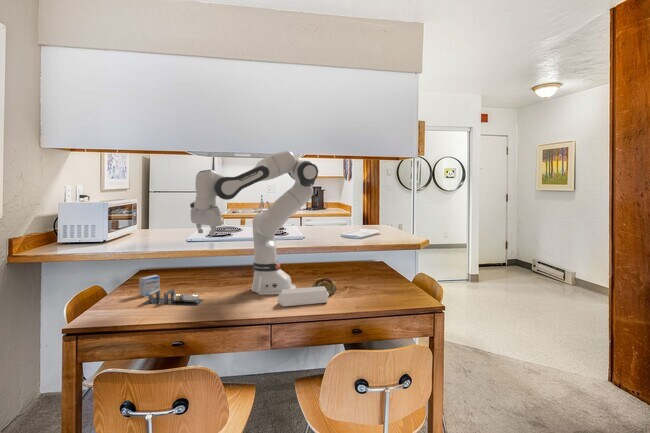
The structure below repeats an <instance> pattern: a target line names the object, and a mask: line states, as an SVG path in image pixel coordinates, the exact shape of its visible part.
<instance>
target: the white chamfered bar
mask: <svg viewBox="0 0 650 433" xmlns="http://www.w3.org/2000/svg"><path fill="white" fill-rule="evenodd" d="M277 295H278V296H277V298H276V299H277V303H278V304H279V305H280V306H281V307H292V306H302V305H313V304H323V303H327V302H328V299H329V296H330V295H329V293H328V291H327V290H326V288H325V286H321V287H312V286H311V287H296V288H295V289H282V290H281V292H280V294H277Z"/></svg>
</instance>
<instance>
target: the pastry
mask: <svg viewBox="0 0 650 433" xmlns="http://www.w3.org/2000/svg"><path fill="white" fill-rule="evenodd" d="M321 286H325V288H326V290H327V291H328V293H329V296H331V295H333V294H334V293H335V292H336V291H337V289H338V288H337V284H336V282H335V281H334V280H332V279H330V278H327V277H320V278H317V279H315V280H314V281H313V283H312V285H311V287H321Z"/></svg>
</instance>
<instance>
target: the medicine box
mask: <svg viewBox="0 0 650 433" xmlns="http://www.w3.org/2000/svg"><path fill="white" fill-rule="evenodd" d="M160 278H161V277H160V275H157V274H153V275H147V276H143V277H139V278H138V282H139V283H138V285H139V296H140V297H149V293H150V292H152V291H153V290H155V289H157V288H160V289H161V283H160V282H161V280H160ZM153 295H156V292H155V293H154V294H153Z"/></svg>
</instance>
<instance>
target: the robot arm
mask: <svg viewBox="0 0 650 433" xmlns="http://www.w3.org/2000/svg"><path fill="white" fill-rule="evenodd" d="M285 174H288V175H289V177H290V178H291V179H292V180H294V184H293V185H292V186H291V187H290V188H289V189H288V190H286V191H285V192H284V193H283V194H282V195H281V196H279V197H278V198H277V199H276V200H275V201H274V202H273V203H272V205H271V206H269V208H267V210H266V211H261V212H257V213H256V214H255V215H254V216H253V219H252V235H253V236H252V238H253V248H254V249H253V257H254V258H253V263H252V264H253V266H252V272H253V280H252V285H251V288H250V290H251V292H253V293H255V294H256V293H257V295H260V296H261V295H262V296H264V295H268V296H269V295H279V294H280V292H281V290H282V289H295V288H297V286H296V285H295V284H294V283H293V284H292V278H291V275H289V274H287V273H286V272H285V270H282V269H281V262H279V261H277V245H276V244H277V243H276V237H275V236H276V235H275V234H277V233H278V232H279V230H280V229H282V227H283V226H284V225H285V224H286V222H287V221H288V220H290V218H291V217H292V216H293V215H294V214H296V213H297V212H298V211H299V210H300V209H301V208H302V207H304V205H305V204H307V202H308V201H309V200H310V199H311V198H312V196H313V195H314V188H313V186H314V184H315V181H316V180H317V178H318V176H319V175H318V174H319V168H318V166H317V165H316V164H315V163H314V162H313V161H310V160H304V159H302V160H299V159H298V160H297V158H296V156H295V154H294V152H292V151H290V150H283V151H279V152H275V153H272V154H271V155H268V156H266V157H264V158H263V159H261V160H259V161H258V162H257V163H256V165H255V166H253V168H251V169H250V170H248V171H245V172H243V173H241V174H239V175H236V176H224V175H221V174H219V173H217V172H216V171H215V170H213V169H204V170H200V171H198V172H197V173H196V175H195V176H196V177H195V193H196V195H195V200H194V201H192V202H190V204H189V208H190V221H191V223H192V224H196V229H197V233H198V234H203V233H204V229H203V228H202V226H203V225H204V226H210V227H209V228H210V231H209V232H208V233H209V236H215V231H216V229H217V227H221V226H222V213H221V210H220V208H219V207H218V206H217V205H216V202H217V200H216V199H217V197H218V198H220V199H222V200H226V201H229V200H233V199H234V198H235V197H236V196H237V195H238V194H239V193H240V192H241V191H242V190H244V189H246V188H247V187H250V186H252V185H254V184H256V183H259V182H263V181H270V180H274V179H276V178H279V177H281V176H283V175H285Z"/></svg>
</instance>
